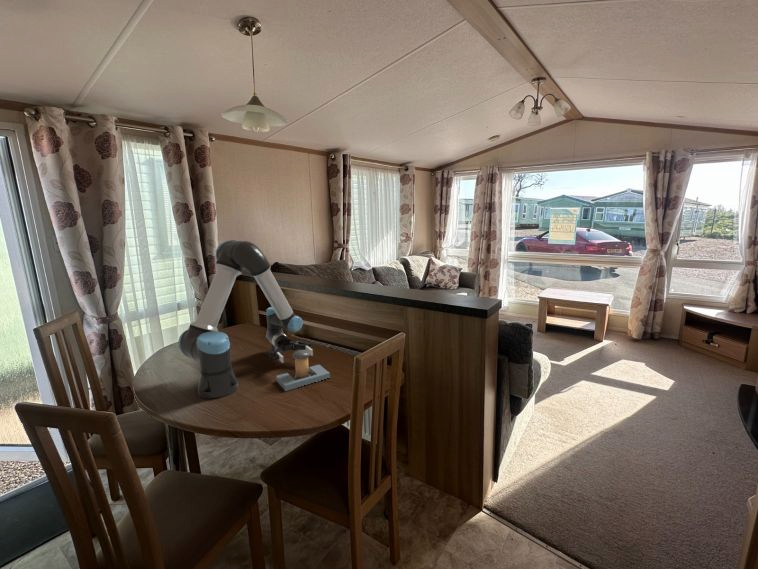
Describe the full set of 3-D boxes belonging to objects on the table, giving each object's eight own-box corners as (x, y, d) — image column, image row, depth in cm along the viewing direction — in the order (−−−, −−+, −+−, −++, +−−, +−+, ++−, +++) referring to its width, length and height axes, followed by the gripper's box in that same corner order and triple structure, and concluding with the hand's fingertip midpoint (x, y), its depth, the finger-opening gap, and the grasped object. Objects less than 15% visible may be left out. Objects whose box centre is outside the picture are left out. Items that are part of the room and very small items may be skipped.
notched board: (285, 391, 144) (285, 385, 144) (276, 381, 153) (276, 375, 153) (330, 378, 155) (329, 373, 155) (319, 369, 164) (319, 364, 163)
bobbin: (297, 384, 150) (296, 357, 148) (291, 378, 156) (290, 352, 154) (313, 379, 154) (312, 353, 152) (307, 373, 160) (305, 348, 157)
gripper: (306, 344, 183) (323, 357, 165) (256, 355, 169) (270, 371, 152) (305, 330, 181) (323, 342, 164) (255, 340, 168) (268, 354, 150)
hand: (297, 356), depth 158 cm, fingers open, 13 cm apart
